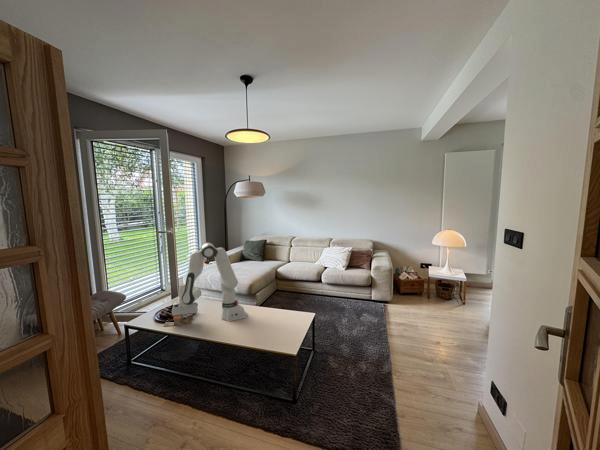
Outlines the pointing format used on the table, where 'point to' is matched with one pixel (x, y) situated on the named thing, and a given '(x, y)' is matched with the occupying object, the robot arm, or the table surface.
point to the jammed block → (177, 317)
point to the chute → (180, 321)
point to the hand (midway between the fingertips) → (185, 318)
